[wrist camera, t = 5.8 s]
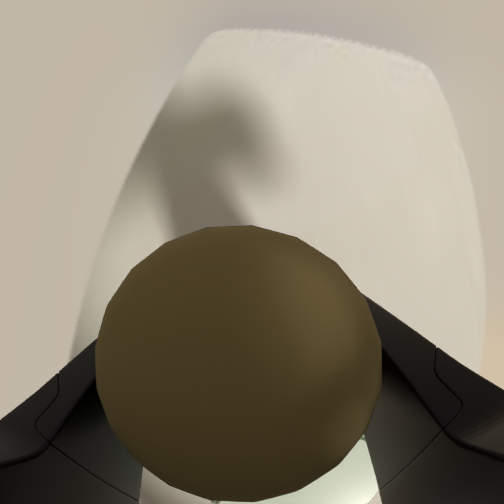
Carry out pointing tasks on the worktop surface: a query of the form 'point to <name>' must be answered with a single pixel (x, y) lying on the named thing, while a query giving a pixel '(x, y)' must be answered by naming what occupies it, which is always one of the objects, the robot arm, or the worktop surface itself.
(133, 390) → the cork
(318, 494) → the baseplate
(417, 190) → the worktop surface
